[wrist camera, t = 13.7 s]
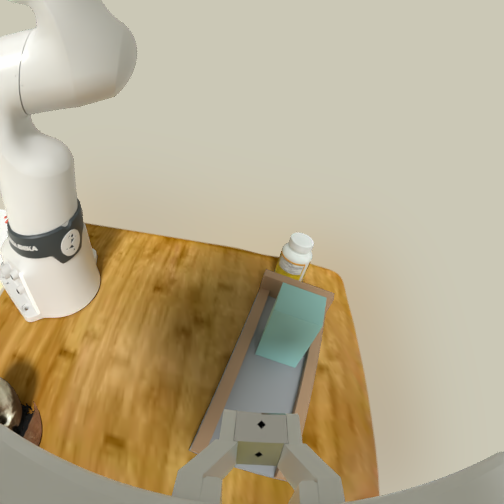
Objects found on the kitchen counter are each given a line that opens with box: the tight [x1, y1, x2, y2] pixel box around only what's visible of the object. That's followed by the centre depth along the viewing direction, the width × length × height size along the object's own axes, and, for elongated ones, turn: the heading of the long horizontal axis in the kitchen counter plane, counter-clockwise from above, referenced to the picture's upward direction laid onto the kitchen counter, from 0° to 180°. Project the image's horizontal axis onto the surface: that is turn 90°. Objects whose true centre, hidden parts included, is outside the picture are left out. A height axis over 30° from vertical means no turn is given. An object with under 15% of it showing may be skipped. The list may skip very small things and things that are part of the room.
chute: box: [189, 269, 334, 481], centre depth 36 cm, size 12×30×4 cm, turn 163°
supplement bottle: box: [274, 233, 314, 282], centre depth 49 cm, size 5×5×10 cm
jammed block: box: [255, 282, 327, 368], centre depth 37 cm, size 6×5×10 cm
